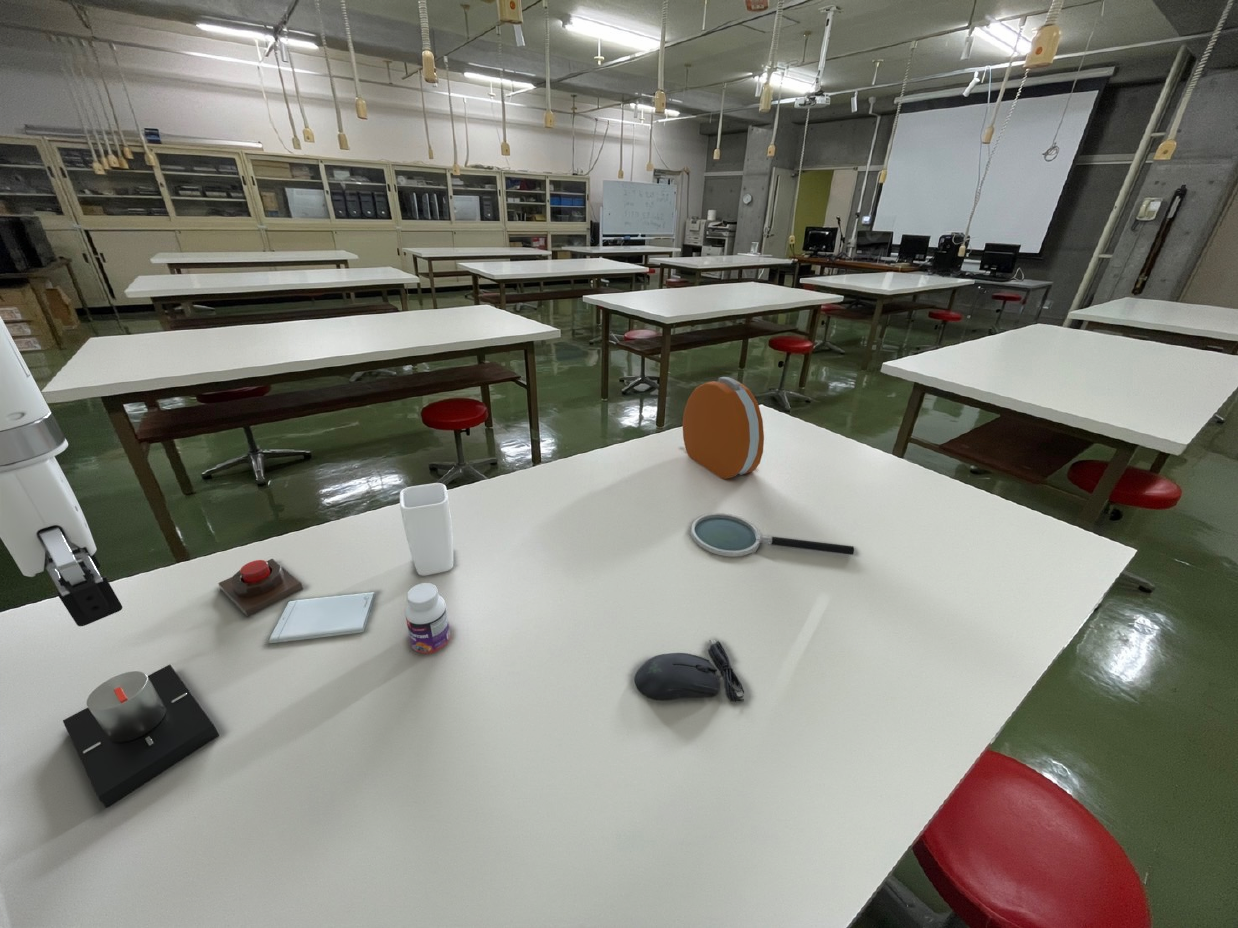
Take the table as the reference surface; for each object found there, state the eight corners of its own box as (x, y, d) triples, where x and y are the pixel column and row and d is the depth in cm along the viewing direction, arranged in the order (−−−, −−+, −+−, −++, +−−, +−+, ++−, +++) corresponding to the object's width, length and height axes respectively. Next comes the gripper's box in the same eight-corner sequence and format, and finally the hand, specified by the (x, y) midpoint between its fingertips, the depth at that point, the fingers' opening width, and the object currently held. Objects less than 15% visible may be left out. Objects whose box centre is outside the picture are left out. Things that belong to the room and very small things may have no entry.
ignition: (222, 593, 80) (214, 574, 79) (276, 568, 86) (269, 549, 84) (249, 621, 75) (241, 601, 74) (304, 592, 81) (298, 573, 79)
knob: (102, 725, 57) (79, 691, 54) (157, 695, 61) (138, 662, 58) (116, 751, 54) (92, 716, 52) (172, 718, 58) (153, 684, 55)
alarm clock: (764, 477, 122) (781, 389, 112) (733, 486, 118) (749, 396, 107) (707, 443, 139) (717, 363, 129) (678, 449, 135) (687, 368, 124)
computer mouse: (626, 657, 72) (627, 638, 70) (721, 645, 75) (725, 627, 73) (642, 720, 63) (643, 700, 62) (749, 704, 66) (753, 685, 64)
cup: (459, 575, 86) (448, 502, 80) (414, 584, 84) (399, 510, 77) (454, 550, 92) (445, 481, 86) (412, 558, 90) (399, 487, 83)
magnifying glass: (860, 577, 90) (863, 568, 89) (689, 555, 94) (690, 546, 93) (843, 534, 102) (845, 526, 101) (691, 516, 106) (692, 508, 105)
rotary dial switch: (74, 736, 59) (61, 719, 57) (178, 679, 66) (169, 663, 65) (110, 813, 52) (96, 796, 50) (222, 740, 59) (213, 723, 58)
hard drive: (374, 590, 80) (289, 599, 78) (362, 628, 73) (267, 639, 70) (376, 598, 81) (291, 607, 78) (364, 636, 74) (271, 647, 71)
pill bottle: (403, 648, 72) (392, 597, 68) (432, 624, 76) (423, 574, 72) (431, 663, 70) (421, 611, 65) (458, 637, 74) (451, 587, 70)
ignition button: (239, 576, 79) (235, 568, 78) (264, 565, 81) (261, 556, 81) (249, 586, 77) (245, 577, 76) (274, 574, 80) (271, 565, 79)
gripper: (-75, 427, 45) (24, 576, 53) (-67, 492, 35) (52, 661, 43) (44, 405, 50) (118, 544, 58) (79, 457, 41) (161, 613, 49)
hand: (90, 594), depth 51 cm, fingers open, 9 cm apart
